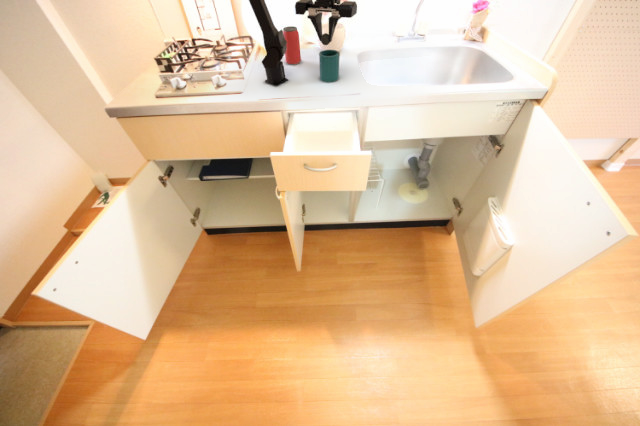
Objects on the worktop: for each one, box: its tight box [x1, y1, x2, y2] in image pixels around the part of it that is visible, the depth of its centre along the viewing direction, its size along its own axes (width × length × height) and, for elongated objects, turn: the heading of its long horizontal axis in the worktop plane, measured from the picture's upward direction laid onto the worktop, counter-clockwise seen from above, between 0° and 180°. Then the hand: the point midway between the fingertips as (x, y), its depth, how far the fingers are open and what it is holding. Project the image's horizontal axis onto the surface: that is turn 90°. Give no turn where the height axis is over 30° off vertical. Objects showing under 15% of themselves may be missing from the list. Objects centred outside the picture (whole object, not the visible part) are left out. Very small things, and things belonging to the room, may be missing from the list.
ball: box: [321, 33, 330, 45], centre depth 80 cm, size 3×3×3 cm
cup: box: [316, 22, 346, 52], centre depth 106 cm, size 12×12×10 cm
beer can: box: [282, 26, 302, 65], centre depth 99 cm, size 7×7×12 cm
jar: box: [318, 50, 340, 83], centre depth 89 cm, size 7×7×8 cm
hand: (325, 41), depth 80 cm, fingers closed on ball, 3 cm apart
